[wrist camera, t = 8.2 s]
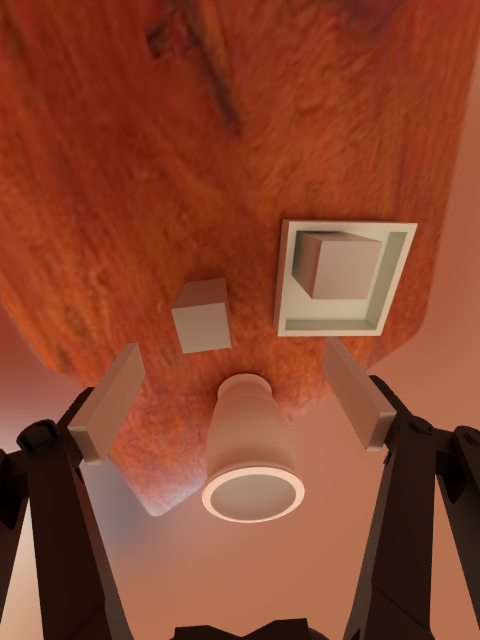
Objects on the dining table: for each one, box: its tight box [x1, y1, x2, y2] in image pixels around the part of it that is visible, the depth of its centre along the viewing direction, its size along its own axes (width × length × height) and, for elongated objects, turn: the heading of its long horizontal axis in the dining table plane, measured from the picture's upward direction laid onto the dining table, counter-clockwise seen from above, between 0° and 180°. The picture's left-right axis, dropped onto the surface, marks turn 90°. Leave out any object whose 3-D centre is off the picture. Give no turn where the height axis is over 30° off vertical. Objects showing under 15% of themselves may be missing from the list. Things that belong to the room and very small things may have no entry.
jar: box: [202, 373, 305, 523], centre depth 31 cm, size 11×10×15 cm
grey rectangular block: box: [171, 278, 232, 353], centre depth 26 cm, size 5×5×8 cm
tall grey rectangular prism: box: [291, 230, 383, 300], centre depth 23 cm, size 5×5×8 cm
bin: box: [273, 219, 418, 336], centre depth 28 cm, size 13×13×4 cm
